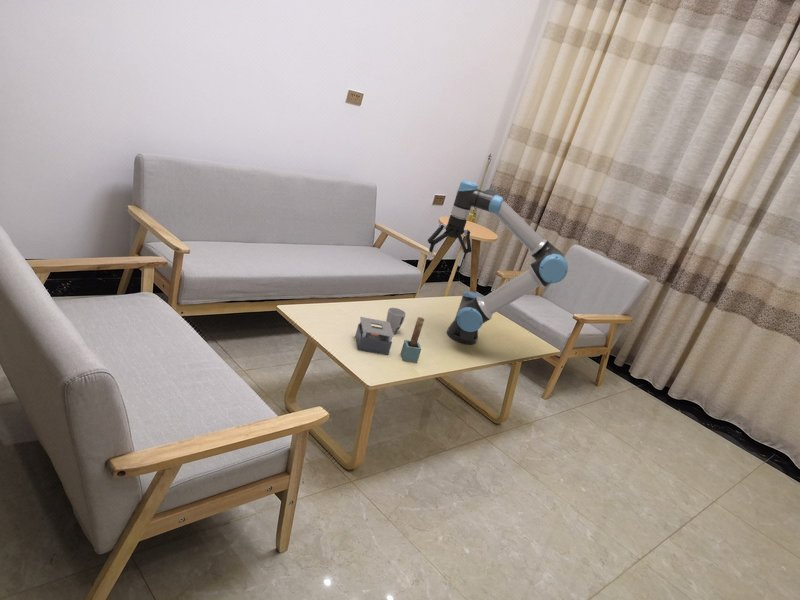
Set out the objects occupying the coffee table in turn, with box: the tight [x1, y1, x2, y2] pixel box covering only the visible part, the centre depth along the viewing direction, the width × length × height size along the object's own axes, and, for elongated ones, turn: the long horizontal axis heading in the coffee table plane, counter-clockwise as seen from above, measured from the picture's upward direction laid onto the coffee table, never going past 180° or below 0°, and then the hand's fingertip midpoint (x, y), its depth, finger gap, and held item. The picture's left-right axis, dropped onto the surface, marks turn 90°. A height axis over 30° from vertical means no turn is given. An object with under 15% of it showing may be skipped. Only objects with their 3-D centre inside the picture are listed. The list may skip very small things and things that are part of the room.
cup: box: [385, 307, 407, 335], centre depth 246 cm, size 8×8×10 cm
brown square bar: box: [409, 316, 425, 347], centre depth 224 cm, size 3×3×18 cm
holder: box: [400, 339, 422, 364], centre depth 226 cm, size 6×6×7 cm
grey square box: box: [354, 316, 395, 356], centre depth 227 cm, size 13×13×9 cm
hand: (444, 262), depth 241 cm, fingers open, 13 cm apart
